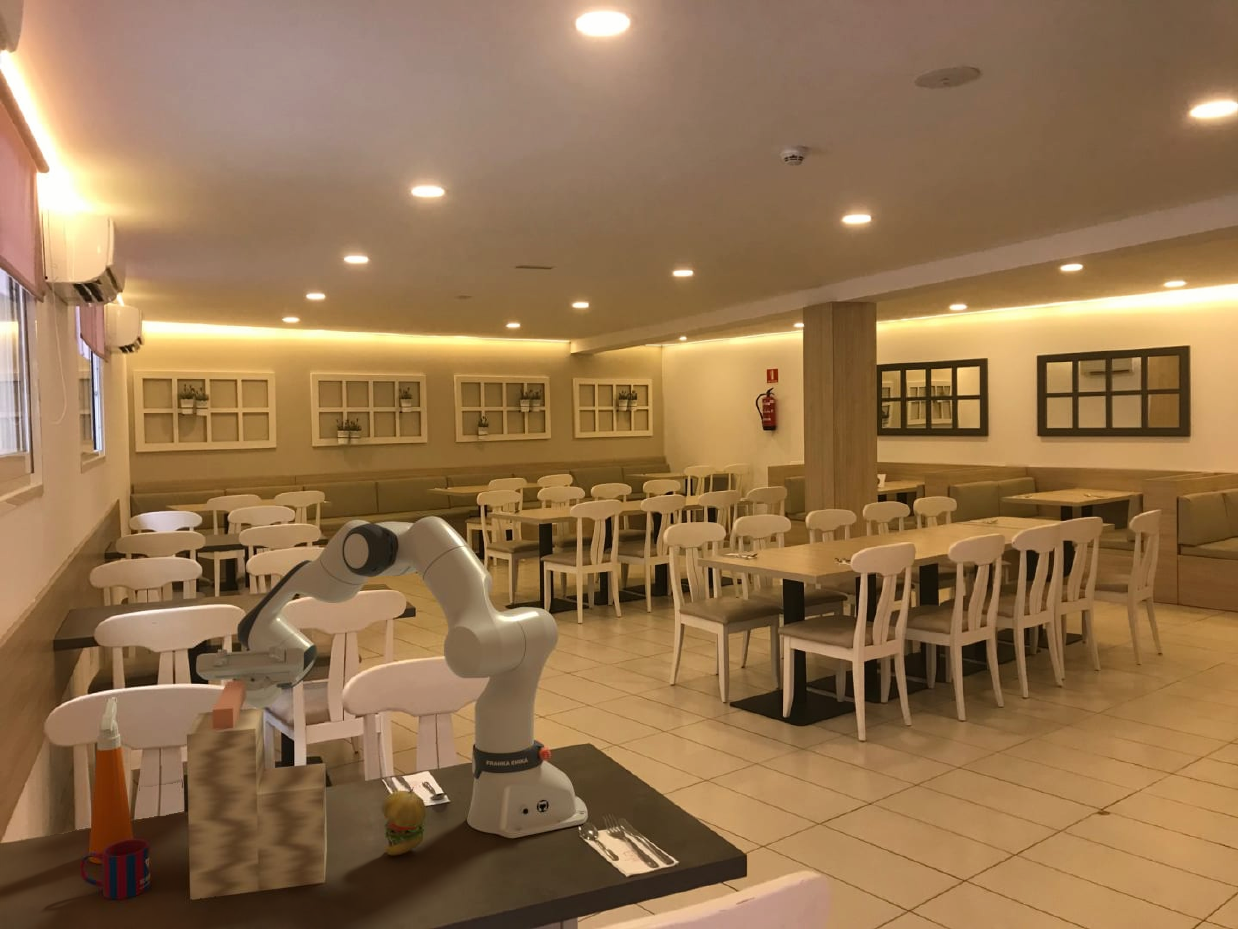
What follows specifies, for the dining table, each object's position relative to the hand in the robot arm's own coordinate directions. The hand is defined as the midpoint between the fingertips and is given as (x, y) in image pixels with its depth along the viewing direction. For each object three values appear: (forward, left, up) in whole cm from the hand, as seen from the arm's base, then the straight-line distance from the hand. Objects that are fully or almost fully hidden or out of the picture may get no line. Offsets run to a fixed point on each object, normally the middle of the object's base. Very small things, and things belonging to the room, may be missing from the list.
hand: (247, 651), depth 184 cm
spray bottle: (+21, +15, -31) cm, 40 cm away
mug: (+17, +31, -31) cm, 47 cm away
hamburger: (-28, +31, -31) cm, 52 cm away
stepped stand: (-5, +32, -30) cm, 44 cm away
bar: (0, +27, -4) cm, 27 cm away
